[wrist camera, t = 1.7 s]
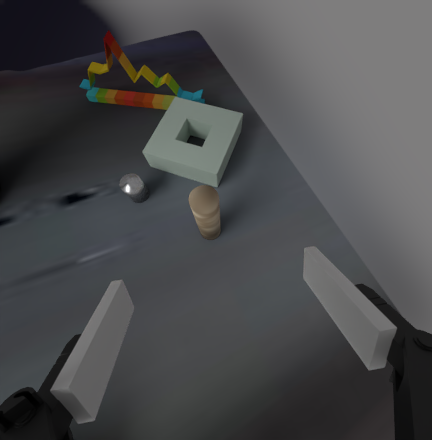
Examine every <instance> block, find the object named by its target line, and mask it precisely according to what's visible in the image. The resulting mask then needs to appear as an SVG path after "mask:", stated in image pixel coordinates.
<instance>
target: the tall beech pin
mask: <svg viewBox="0 0 432 440" xmlns="http://www.w3.org/2000/svg"><path fill="white" fill-rule="evenodd" d="M189 204H190V206H191V209H192V212H193V214H194V217H195V219H196V222H197V225H198V227H199V230H200V232H201V235H202V236H203V237H204V238H205V239H207V240H214V239H216V238H217V237H218V236H219V235H220V232H221V226H220V209H219V196H218V193H217V191H216V190H215V189H214V188H213V187H211V186H207V185H202V186H198V187H196V188H195V189H193V190H192V191H191V193H190V195H189Z"/></svg>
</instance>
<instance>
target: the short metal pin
mask: <svg viewBox="0 0 432 440" xmlns="http://www.w3.org/2000/svg"><path fill="white" fill-rule="evenodd" d="M120 188H121V189H122V190H123V191H124V192H125V193H126V194H127V195H128V196H129V197H130V198H131V199H132V200H133V201H134V202H136V203H142V202H144V201H146V200H147V199H148V197H149V190H148V188H147V187H146V186H145V184H144V183H143V181H142V180H141V179H140V177H139V176H138V175H136V174H134V173H130V174H127V175H125V176H123V177H122V178H121V180H120Z"/></svg>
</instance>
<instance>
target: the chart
mask: <svg viewBox="0 0 432 440" xmlns="http://www.w3.org/2000/svg"><path fill="white" fill-rule="evenodd" d="M104 45H105V53H106V61H107V64H104V65H102V64H99V63H95V62H92V63H91V65H90V66H89V68H88V76H89V80H86V79H83V81H82V83H81V85H80V88H83V89H87V90H88V92H87V94H86V96H87V98H88V99H89V101H92V102H101V103H110V104H119V105H129V106H138V107H147V108H156V109H165V110H168V108H169V106H170V105H171V103H172V101H173V99H174V98H175V97H179V98H183V99H187V100H191V101H195V102H199V103H203V104H205V99H201V96H202V93H203V89H202V90H200V91H197V92H195V93H191V92H187V91H183V90H182V89H181V88H180V87H179V85H178V84H177V83H176V82H175V80H174V79H173V78H172V77H171V75H170V74H169V73H167V74H165V75H164V76H162V77H161V78H158V77H157V76H156V75H155V74H154V73H153V72H152V71H151V70H150V69H149V68H148V67H147V66H145V65H144V66H143V67H142V68H141V70H140V71H139V72H138V73H137V72H136V71H135V69H134V68H133V66H132V65H131V63H130V62H129V60H128V59H127V57H126V56H125V54H124V53H123V51H122V50H121V48H120V47H119V45H118V44H117V42H116V41H115V39H114V38H113V36H112V35H111V33H110V32H109V31H108V32H107V34H106V35H105V37H104ZM111 50H112V52H113V53H114V55H115V56H116V57H117V59H118V60H119V62H120V63H121V65H122V66H123V68H124V69H125V70H126V72H127V73H128V75H129V76H130V78H131V79H132V81H133V82H134V83H135V82H136V80H137V79H138V78H139V77H140V76H141V74H142V75H143V76H144V77H145V78H146V79H147V80H148V81H149V82H151V83H152V84H153V85H154V86H155V87H157V88H158V87H159V86H160V85H162V84H164V83H165V82H166V84H167V85H168V86H169V87H170V88H171V89H172V91H173V92H174V93H175V94H176V95H177V96H170V95H160V94H150V93H140V92H131V91H121V90H111V89H102V88H93V86H94V84H95V76H94V73H97V74H103V73H105V72H108V71H109V69H110V68H111V66H112V64H113V62H112V53H111Z"/></svg>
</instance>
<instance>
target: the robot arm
mask: <svg viewBox="0 0 432 440" xmlns="http://www.w3.org/2000/svg"><path fill="white" fill-rule="evenodd" d="M303 278H304V280H305V281H306V283H307V284H308V285H309V287H310V288H311V290H312V291H313V292H314V294H315V295H316V297H317V298H318V299H319V301H320V302H321V304H322V305H323V307H324V308H325V309H326V311H327V312H328V314H329V315H330V316H331V318H332V319H333V321H334V322H335V323H336V325H337V326H338V328H339V329H340V330H341V332H342V333H343V335H344V336H345V337H346V339H347V340H348V342H349V343H350V344H351V346H352V347H353V349H354V350H355V351H356V353H357V354H358V356H359V357H360V358H361V360H362V361H363V363H364V364H365V366H366V367H367V368H368V370H374V369H379V368H384V367H385V365H386V361H387V360H388V361H389V362H390V364H391V365H392V366H393V367H394V368H393V371H392V374H391V377H390V382H393V394H394V422H395V440H432V334H430V333H427V332H425V331H421V330H417V329H415V328H414V327H413V326H412V325H411V324H410V323H409V322H407V321H406V320H405V319H404V318H403V317H402V316H401V315H400V314H399V313H398V312H397V311H395V310H394V309H393V308H392V307H391V306H390V305H389V304H387V302H386V301H385V300H383V299H382V298H380V296H379V295H378V294H377V293H376V292H375V291H374V290H372V289H371V288H369V287H367V286H365V285H363V284H357V285H353V284H352V283H351V282H350V281H349V280H348V279H347V278H346V277H345V276H344V275H343V274H342V273H341V272H340V271H339V270H338V269H337V268H336V267H335V266H334V265H333V264H332V263H331V262H330V261H329V260H328V259H327V258H326V257H325V256H324V255H323V254H322V253H321V252H320V251H319V250H318V249H317V248H316V247H315V246H312V247H307V248H304V271H303ZM133 311H134V306H133V303H132V301H131V299H130V296H129V294H128V292H127V289H126V287H125V285H124V282H123V280H117V281H112V282H111V283H110V285H109V287H108V289H107V290H106V292H105V294H104V296H103V298H102V299H101V301H100V303H99V305H98V306H97V308H96V310H95V312H94V313H93V315H92V317H91V319H90V321H89V322H88V324H87V326H86V328H85V329H84V331H83V333H82V334H79V335H75V336H74V337H73V338H72V339H71V340H70V341H69V342H68V343H67V345H66V346H65V348H64V349H63V351H62V353H61V356H59V358H58V359H57V361H56V364H55V365H54V366H53V368H52V369H51V371H50V372H49V374H48V376H47V377H46V379H45V381H44V382H43V384H42V386H41V387H40V389H39V391H38V392H36V391H35V390H34V389H33V388H31V387H26V388H23V389H20V390H19V391H17V392H15V393H13V394H12V395H11V396H10V397H9V398H7V399H6V400H5V401H4V402H3V403H2V404H1V406H0V440H73V437H72V432H71V430H70V428H69V425H70V423H71V421H72V418H74V419H75V421H76V422H77V423H78V424H80V423H86V422H91V421H95V418H96V416H97V413H98V410H99V407H100V404H101V401H102V399H103V396H104V393H105V390H106V387H107V384H108V382H109V379H110V376H111V373H112V370H113V367H114V365H115V362H116V359H117V356H118V353H119V350H120V347H121V345H122V342H123V339H124V336H125V333H126V330H127V328H128V325H129V322H130V319H131V316H132V313H133Z"/></svg>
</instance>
